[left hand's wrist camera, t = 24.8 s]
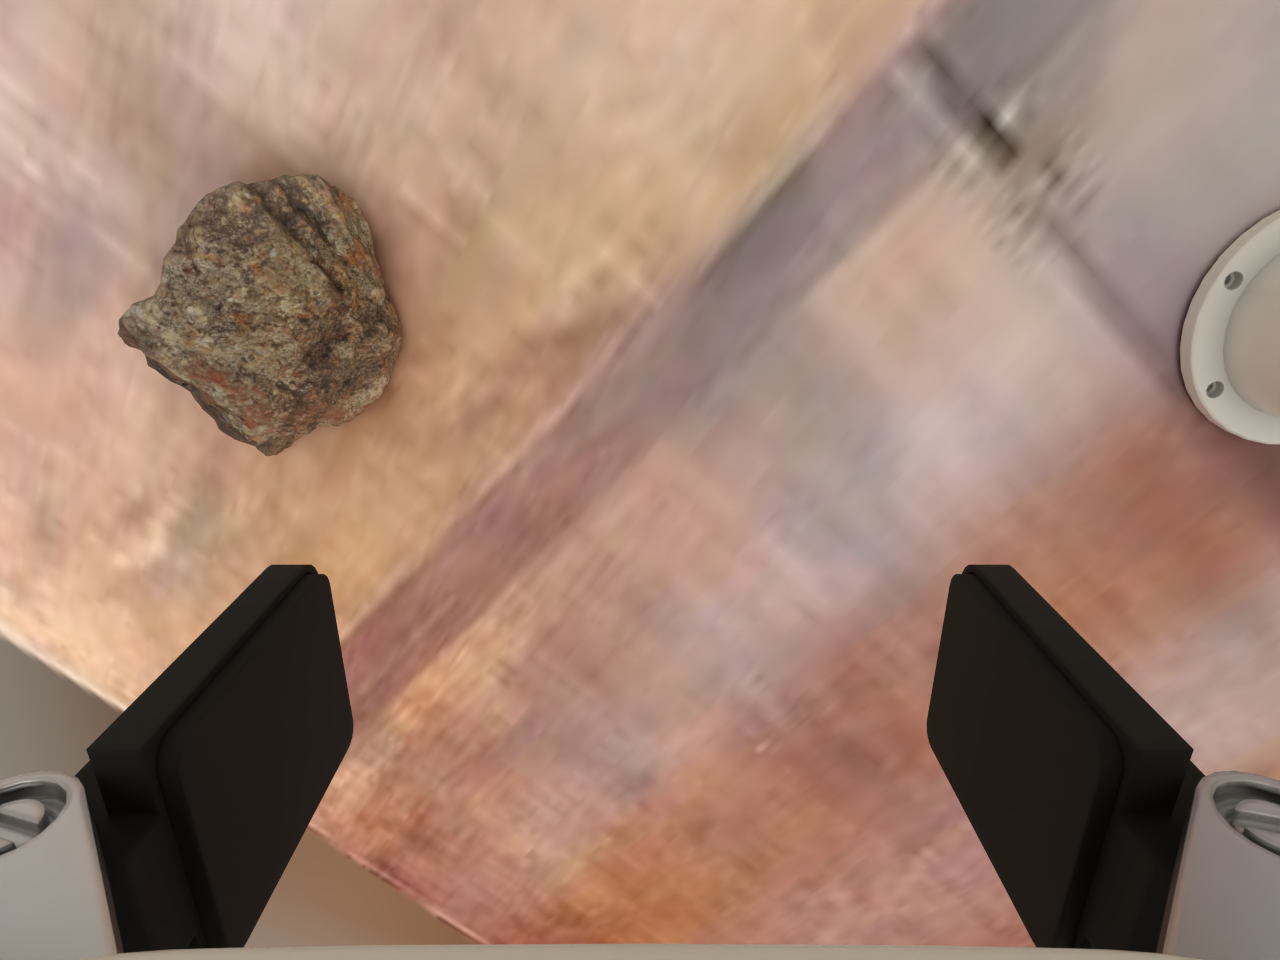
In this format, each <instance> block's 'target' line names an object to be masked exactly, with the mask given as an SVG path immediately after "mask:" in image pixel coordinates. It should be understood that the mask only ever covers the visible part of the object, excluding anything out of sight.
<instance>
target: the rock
mask: <svg viewBox="0 0 1280 960" xmlns="http://www.w3.org/2000/svg"><path fill="white" fill-rule="evenodd" d="M119 328H120V329H119V331H118V335H119V336H120V337H121V338H122V339H123V341H124V343H125V344H127V345H128V346H130V347H133V348H137V349H139V350H141V351H142V352H143V353H144V354H145V356H146V359H147V364H148V366H150V367H151V368H153V369H155V370H156V371H158V372H159V373H160V374H162V375H163V376H164V377H165V378H167V379H168V380H170V381H171V382H174V383H176V384H179V385H181V386H182V387H184V388H185V389H187V390H189V391H190V392H191V394H192V395H193V397H194V398H195V400H196V401H197V402H198V403H199V405H200V406H201V408H202V409H203V410H204V411H205V412H207V413H208V414H209V415H210V416H211V417H212V418H213V419H214V420H215V421H216V424H217V426H218V428H219V429H220V430H221V431H222V432H224V433H226V434H227V435H229V436H231V437H232V438H234V439H236V440H238V441H241V442H244V443H247V444H250V445H253V446H255V447H256V448H257V449H258V450H260V451H261V452H262V453H263V454H264V455H265V456H271V455H277V454H279V453H280V452H282V451H283V449H285V448H288V447H290V446H291V445H292V444H293V442H294V441H296V440H297V439H299V438H300V437H301V436H302V435H303V434H309V433H310V432H311V431H312V430H313V429H316V428H317V427H319V426H321V427H327V426H329V425H333V426H340V425H341V424H342V423H345V422H349V421H351V420H353V419H354V418H355V417H356V416H357V415H359V414H360V413H362V412H363V411H364V409H365V408H366V407H367V406H368V405H370V404H371V403H373V402H374V401H376V400H377V399H378V398H379V397H380V395H381V394H383V393H384V388H385V386H386V385H387V384H388V383H389V379H390V375H391V372H392V370H393V366H392V365H393V364H394V362H395V360H396V359H397V358H398V356H399V353H400V345H401V344H402V338H401V323H400V322H399V320H398V315H397V311H396V309H395V307H394V305H393V304H392V302H391V300H389V298H388V296H387V293H386V291H385V288H384V280H383V277H382V275H381V270H380V267H379V265H378V262H377V260H376V257H375V254H374V248H373V240H372V237H371V232H370V227H369V225H368V223H367V221H366V220H365V219H364V217H363V216H362V213H361V211H360V209H359V206H358V204H357V203H356V202H355V201H354V199H352V198H350V197H348V196H347V195H346V194H345V193H344V192H343V191H341V190H340V189H339V188H337V187H336V186H330V185H329V184H328V182H327V181H325V180H324V179H323V178H321V177H320V176H319V175H307V174H302V175H298V176H295V177H294V176H287V175H282V176H280V177H278V178H276V179H274V180H268V181H261V182H257V183H252V184H247V185H246V184H244V183H241V182H239V181H238V182H235V183H232V184H229V185H226V186H223V187H220V188H218V189H216V190H215V191H213V192H212V193H209V194H207V195H206V196H205V197H204V198H203V199H202V200H201V201H200V202H199V203H198V204H197V205H196V207H195V208H194V209H193V210H192V212H191V213H190V215H189V216H188V218H187V220H186V221H185V223H184V224H183V225H182V226H181V227H180V228H178V229H177V237H176V243H175V244H174V246H173V247H172V248H171V250H170V251H169V252H168V253H167V255H166V256H165V257H164V260H163V268H162V276H161V284H160V286H159V287H158V289H157V291H156V293H155V295H154V296H152V297H150V298H147V299H145V300H143V301H140V302H137V303H133V305H132V306H131V307H130V308H129V309H128V310H127V311H126V313H125V314H124V315H123V316H122V317H121V318H120V319H119Z"/></svg>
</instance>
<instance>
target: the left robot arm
mask: <svg viewBox="0 0 1280 960" xmlns="http://www.w3.org/2000/svg"><path fill="white" fill-rule="evenodd" d="M1180 363H1181V372H1182V376H1183V379H1184V383H1185V387H1186V390H1187V392H1188V394H1189V395H1190V397H1191V399H1192V401H1193V402H1194V404H1195V406H1196V407H1197V408H1198V409H1199V411H1200V412H1201V413H1202V414H1203V415H1204V416H1205V417H1206V418H1207V419H1208V420H1209V421H1210V422H1212V423H1214V424H1215V425H1217V426H1218V427H1220V428H1222V429H1223V430H1225V431H1227V432H1229V433H1232V434H1234V435H1237V436H1239V437H1242V438H1244V439H1247V440H1251V441H1255V442H1259V443H1264V444H1279V445H1280V210H1278V211H1276V212H1274V213H1273V214H1271V215H1269V216H1267V217H1265V218H1263V219H1262V220H1261V221H1259V222H1258V223H1257V224H1255V225H1254V226H1253V227H1251V228H1250V229H1249V230H1247V231H1246V232H1245V233H1243V234H1242V235H1241V236H1240V237H1239V238H1238V239H1237V240H1236V241H1235V242H1234V243H1233V244H1232V245H1231V246H1230V247H1229V248H1228V249H1227V250H1226V251H1225V252H1224V253H1223V254H1222V255H1221V256H1220V257H1219V258H1218V260H1217V261H1216V262H1215V264H1214V265H1213V266H1212V268H1211V269H1210V270H1209V272H1208V273H1207V274H1206V276H1205V277H1204V279H1203V280H1202V282H1201V284H1200V286H1199V288H1198V290H1197V292H1196V294H1195V295H1194V297H1193V299H1192V301H1191V304H1190V307H1189V310H1188V313H1187V316H1186V318H1185V321H1184V324H1183V330H1182V337H1181V343H1180ZM352 734H353V718H352V712H351V706H350V700H349V694H348V688H347V682H346V676H345V670H344V664H343V658H342V652H341V647H340V641H339V635H338V629H337V623H336V617H335V611H334V605H333V599H332V593H331V587H330V583H329V579H328V578H327V576H326V575H324V574H318V572H317V571H316V569H315V567H313V566H312V565H270V566H269V567H267V568H266V569H265V570H264V571H263V572H262V573H261V574H260V575H259V576H258V577H257V578H256V579H255V580H254V581H253V582H252V583H251V584H250V585H249V586H248V587H247V588H246V589H245V590H244V591H243V592H242V593H241V594H240V595H239V597H238V598H237V599H236V600H235V601H234V602H233V603H232V604H231V605H230V606H229V607H228V608H227V609H226V610H225V611H224V612H223V613H222V614H221V615H220V616H219V617H218V618H217V619H216V620H215V621H214V622H213V623H212V624H211V625H210V626H209V627H208V628H207V629H206V630H205V631H204V632H203V633H202V634H201V635H200V636H199V637H198V638H197V639H196V640H195V641H194V642H193V643H192V644H191V645H190V646H189V647H188V648H187V649H186V650H185V651H184V652H183V653H182V654H181V655H180V656H179V657H178V658H177V659H176V660H175V661H174V662H173V663H172V664H171V665H170V666H169V667H168V668H167V669H166V670H165V671H164V672H163V673H162V674H161V675H160V676H159V677H158V678H157V679H156V680H155V681H154V682H153V683H152V684H151V685H150V686H149V687H148V688H147V689H146V690H145V691H144V692H143V693H142V694H141V695H140V696H139V697H138V698H137V699H136V700H135V701H134V702H133V703H132V704H131V705H130V706H129V707H128V708H127V709H126V710H125V711H124V712H123V713H122V714H121V715H120V716H119V717H118V718H117V719H116V720H115V721H114V722H113V723H112V724H111V725H110V726H109V727H108V728H107V729H106V730H105V731H104V732H103V733H102V734H101V735H100V736H99V737H98V738H97V739H96V740H95V741H94V742H93V743H92V744H91V745H90V746H89V747H88V748H87V752H88V755H89V758H90V761H89V762H88V763H87V764H86V765H85V766H84V767H83V768H82V769H81V770H80V771H79V772H78V773H77V774H76V775H75V776H73V775H70V774H68V773H66V772H55V771H42V772H35V773H28V774H23V775H19V776H16V777H12V778H9V779H6V780H2V781H0V960H1280V781H1278V780H1274V779H1271V778H1268V777H1264V776H1261V775H1258V774H1252V773H1245V772H1238V771H1224V772H1214V773H1212V774H1210V775H1207V776H1205V775H1204V774H1203V773H1202V772H1201V771H1200V770H1199V769H1198V768H1197V767H1196V766H1195V765H1194V764H1193V763H1192V762H1191V761H1190V759H1191V755H1192V752H1193V748H1192V747H1191V746H1190V745H1189V744H1188V743H1187V742H1186V741H1185V740H1184V739H1183V738H1182V737H1181V736H1180V735H1179V734H1178V733H1177V732H1176V731H1175V730H1174V729H1173V728H1172V727H1171V726H1170V725H1169V724H1168V723H1167V722H1166V721H1165V720H1164V719H1163V718H1162V717H1161V716H1160V715H1159V714H1158V713H1157V712H1156V711H1155V710H1154V709H1153V708H1152V707H1151V706H1150V705H1149V704H1148V703H1147V702H1146V701H1145V700H1144V699H1143V698H1142V697H1141V696H1140V695H1139V694H1138V693H1137V692H1136V691H1135V690H1134V689H1133V688H1132V687H1131V686H1130V685H1129V684H1128V683H1127V682H1126V681H1125V680H1124V679H1123V678H1122V677H1121V676H1120V675H1119V674H1118V673H1117V672H1116V671H1115V670H1114V669H1113V668H1112V667H1111V666H1110V665H1109V664H1108V663H1107V662H1106V661H1105V660H1104V659H1103V658H1102V657H1101V656H1100V655H1099V654H1098V653H1097V652H1096V651H1095V650H1094V649H1093V648H1092V647H1091V646H1090V645H1089V644H1088V643H1087V642H1086V641H1085V640H1084V639H1083V638H1082V637H1081V636H1080V635H1079V634H1078V633H1077V632H1076V631H1075V630H1074V629H1073V628H1072V627H1071V626H1070V625H1069V624H1068V623H1067V622H1066V621H1065V620H1064V619H1063V618H1062V617H1061V616H1060V615H1059V614H1058V613H1057V612H1056V611H1055V610H1054V609H1053V608H1052V607H1051V606H1050V605H1049V604H1048V603H1047V602H1046V601H1045V600H1044V599H1043V598H1042V596H1041V595H1040V594H1039V593H1038V592H1037V591H1036V590H1035V589H1034V588H1033V587H1032V586H1031V585H1030V584H1029V583H1028V582H1027V581H1026V580H1025V579H1024V578H1023V577H1022V576H1021V575H1020V574H1019V573H1018V572H1017V571H1016V570H1015V569H1014V568H1013V567H1011V566H1010V565H968V566H967V567H965V569H964V571H963V572H962V574H956V575H954V576H953V578H952V579H951V583H950V587H949V593H948V599H947V605H946V611H945V617H944V623H943V629H942V635H941V641H940V647H939V652H938V658H937V664H936V670H935V676H934V682H933V688H932V694H931V700H930V706H929V712H928V718H927V734H928V739H929V743H930V746H931V748H932V750H933V752H934V754H935V756H936V758H937V759H938V761H939V763H940V765H941V767H942V769H943V771H944V773H945V775H946V777H947V779H948V780H949V782H950V784H951V786H952V788H953V790H954V792H955V794H956V796H957V798H958V799H959V801H960V803H961V805H962V807H963V809H964V811H965V813H966V815H967V817H968V819H969V820H970V822H971V824H972V826H973V828H974V830H975V832H976V834H977V836H978V838H979V840H980V841H981V843H982V845H983V847H984V849H985V851H986V853H987V855H988V857H989V859H990V860H991V862H992V864H993V866H994V868H995V870H996V872H997V874H998V876H999V878H1000V880H1001V881H1002V883H1003V885H1004V887H1005V889H1006V891H1007V893H1008V895H1009V897H1010V899H1011V900H1012V902H1013V904H1014V906H1015V908H1016V910H1017V912H1018V914H1019V916H1020V918H1021V920H1022V921H1023V923H1024V925H1025V927H1026V929H1027V931H1028V933H1029V935H1030V937H1031V939H1032V940H1033V942H1034V944H1035V945H1036V947H989V946H918V945H772V944H508V945H364V946H363V945H362V946H291V947H244V945H245V944H246V942H247V940H248V939H249V937H250V935H251V933H252V931H253V929H254V927H255V925H256V923H257V921H258V919H259V918H260V916H261V914H262V912H263V910H264V908H265V906H266V904H267V902H268V900H269V899H270V897H271V895H272V893H273V891H274V889H275V887H276V885H277V883H278V881H279V880H280V878H281V876H282V874H283V872H284V870H285V868H286V866H287V864H288V862H289V860H290V859H291V857H292V855H293V853H294V851H295V849H296V847H297V845H298V843H299V841H300V840H301V838H302V836H303V834H304V832H305V830H306V828H307V826H308V824H309V822H310V820H311V819H312V817H313V815H314V813H315V811H316V809H317V807H318V805H319V803H320V801H321V799H322V798H323V796H324V794H325V792H326V790H327V788H328V786H329V784H330V782H331V780H332V779H333V777H334V775H335V773H336V771H337V769H338V767H339V765H340V763H341V761H342V759H343V758H344V756H345V754H346V752H347V750H348V748H349V746H350V743H351V739H352Z"/></svg>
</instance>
